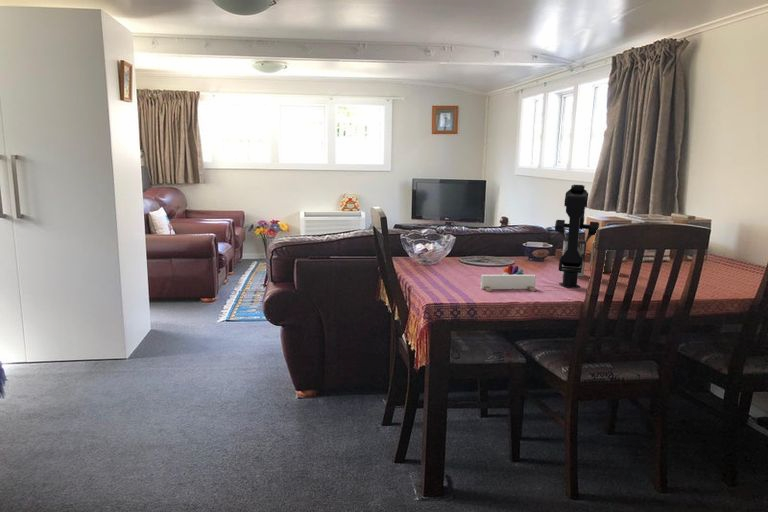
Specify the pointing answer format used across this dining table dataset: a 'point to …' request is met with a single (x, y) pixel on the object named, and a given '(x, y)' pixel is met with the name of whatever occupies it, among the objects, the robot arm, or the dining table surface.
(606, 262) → the pillar candle
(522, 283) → the white rectangular box
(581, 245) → the coffee box
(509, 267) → the pom poms
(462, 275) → the dining table surface
